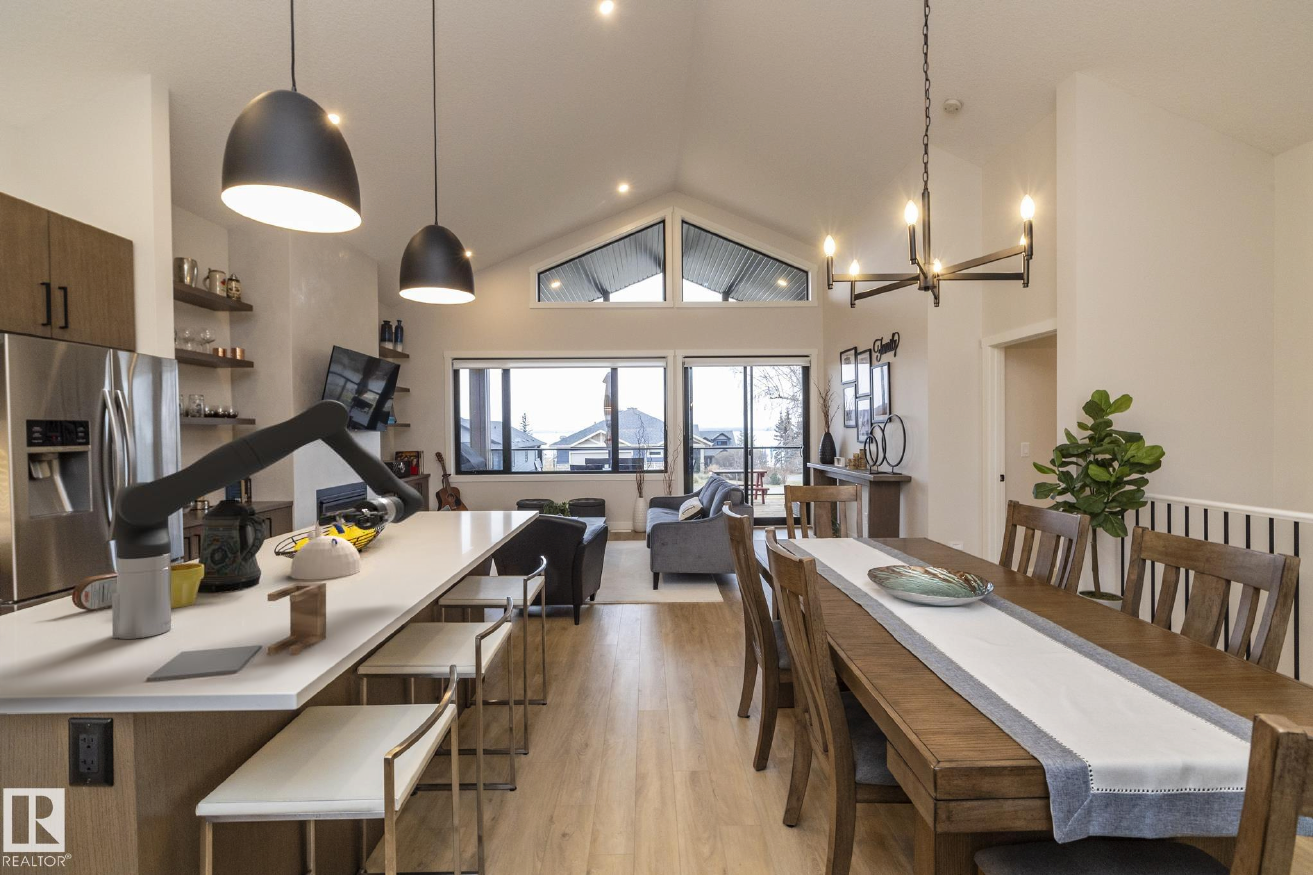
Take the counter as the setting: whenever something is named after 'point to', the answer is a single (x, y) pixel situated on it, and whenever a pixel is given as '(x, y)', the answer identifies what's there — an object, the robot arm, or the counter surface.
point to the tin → (95, 592)
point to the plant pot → (185, 583)
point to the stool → (303, 616)
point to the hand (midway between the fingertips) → (338, 522)
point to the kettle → (325, 557)
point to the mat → (205, 663)
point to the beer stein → (230, 547)
